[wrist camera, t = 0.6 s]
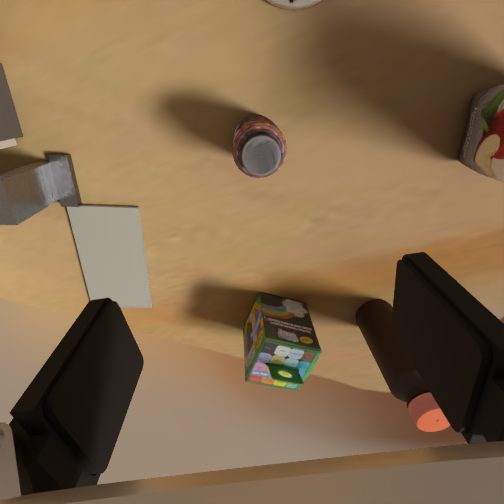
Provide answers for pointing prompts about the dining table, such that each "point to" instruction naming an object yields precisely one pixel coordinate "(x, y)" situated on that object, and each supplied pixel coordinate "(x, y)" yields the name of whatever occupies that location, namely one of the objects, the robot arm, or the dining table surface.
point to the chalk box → (279, 343)
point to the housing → (37, 188)
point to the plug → (7, 115)
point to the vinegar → (398, 366)
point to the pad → (112, 253)
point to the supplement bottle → (258, 147)
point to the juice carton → (485, 134)
